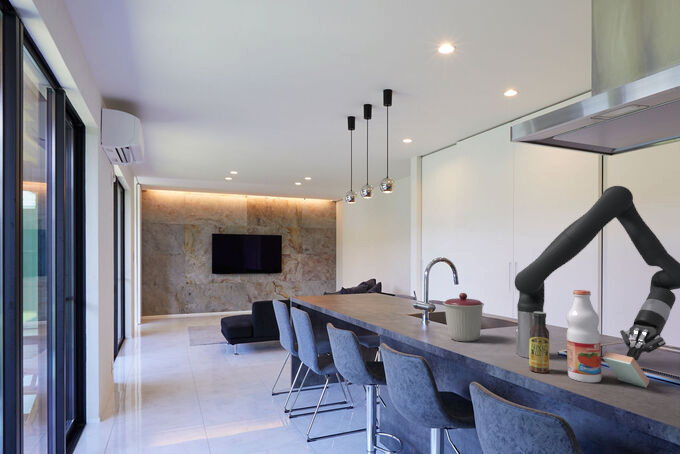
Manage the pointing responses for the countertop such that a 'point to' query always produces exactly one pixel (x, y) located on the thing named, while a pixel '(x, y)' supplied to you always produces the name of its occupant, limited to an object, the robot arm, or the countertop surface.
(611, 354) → the pale green flat block
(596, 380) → the fruit juice
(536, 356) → the sauce bottle
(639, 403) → the countertop surface
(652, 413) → the countertop surface
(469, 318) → the canister
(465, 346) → the countertop surface
